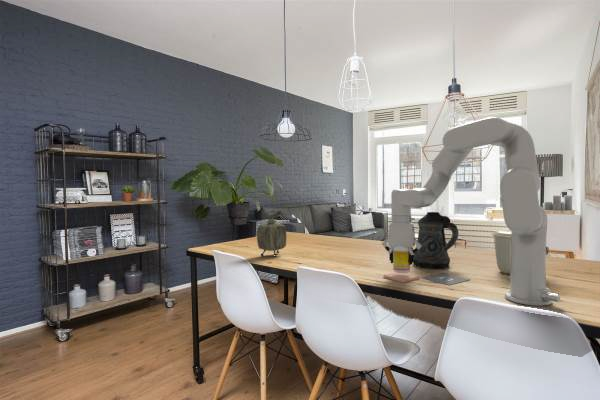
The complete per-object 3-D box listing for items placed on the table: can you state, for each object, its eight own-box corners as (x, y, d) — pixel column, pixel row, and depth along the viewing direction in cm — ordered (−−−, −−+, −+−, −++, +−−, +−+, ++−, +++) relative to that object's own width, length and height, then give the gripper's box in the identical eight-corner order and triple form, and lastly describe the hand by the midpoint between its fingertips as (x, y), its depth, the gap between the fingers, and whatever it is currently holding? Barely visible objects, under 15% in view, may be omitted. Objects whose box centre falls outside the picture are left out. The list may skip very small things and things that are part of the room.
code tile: (470, 280, 138) (470, 279, 138) (449, 285, 131) (449, 284, 131) (441, 273, 149) (441, 272, 149) (421, 277, 142) (421, 277, 142)
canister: (492, 266, 160) (492, 220, 159) (540, 270, 151) (540, 222, 150) (490, 275, 144) (490, 224, 144) (544, 280, 135) (544, 226, 134)
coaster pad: (419, 278, 141) (419, 276, 141) (402, 282, 136) (402, 280, 136) (400, 273, 150) (400, 271, 149) (383, 277, 144) (383, 274, 144)
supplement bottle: (411, 273, 139) (410, 241, 138) (393, 273, 140) (393, 241, 139) (409, 269, 145) (409, 238, 145) (392, 269, 146) (392, 238, 146)
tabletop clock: (278, 253, 202) (277, 209, 201) (288, 255, 195) (287, 210, 194) (257, 256, 193) (256, 211, 192) (266, 259, 186) (265, 211, 185)
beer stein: (412, 260, 175) (411, 211, 174) (454, 262, 170) (454, 211, 169) (413, 268, 159) (413, 213, 158) (459, 270, 154) (459, 213, 153)
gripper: (425, 219, 141) (425, 263, 142) (382, 218, 149) (382, 260, 150) (422, 221, 134) (422, 267, 135) (377, 219, 143) (377, 263, 143)
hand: (401, 263), depth 142 cm, fingers closed on supplement bottle, 6 cm apart
